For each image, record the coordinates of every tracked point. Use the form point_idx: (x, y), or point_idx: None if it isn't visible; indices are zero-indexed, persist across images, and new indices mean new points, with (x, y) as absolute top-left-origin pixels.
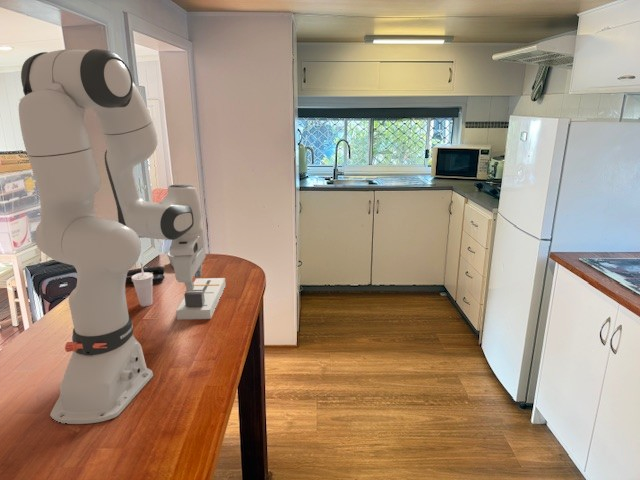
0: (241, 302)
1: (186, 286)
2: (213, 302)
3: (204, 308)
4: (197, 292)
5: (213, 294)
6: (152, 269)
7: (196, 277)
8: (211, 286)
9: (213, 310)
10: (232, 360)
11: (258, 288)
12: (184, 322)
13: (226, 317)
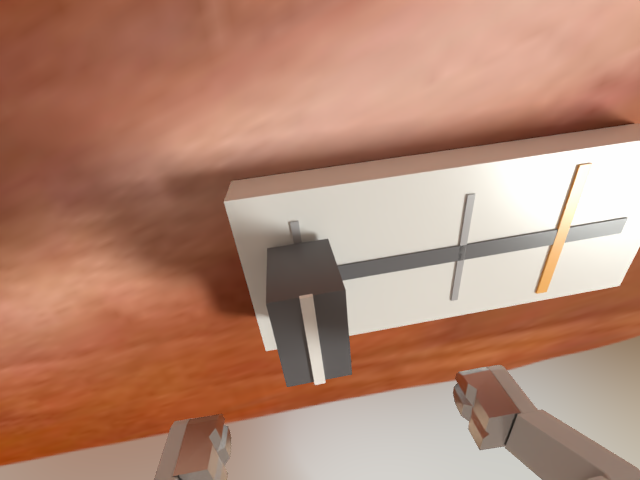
0: (407, 358)
1: (157, 472)
2: None
3: None
4: (308, 361)
5: (431, 306)
6: None
7: (457, 376)
8: (534, 263)
9: None
10: (24, 452)
11: (513, 367)
12: (211, 229)
13: None
